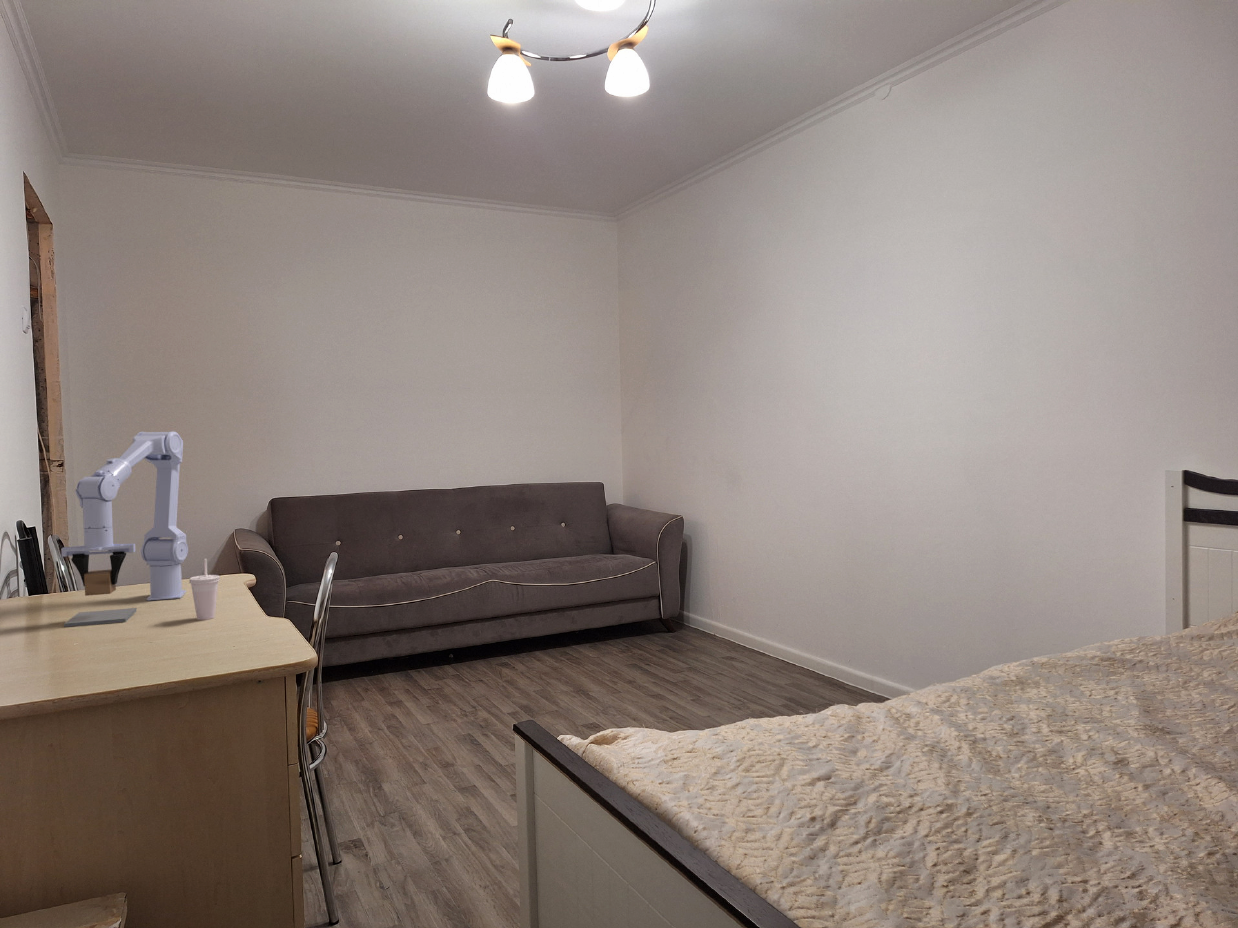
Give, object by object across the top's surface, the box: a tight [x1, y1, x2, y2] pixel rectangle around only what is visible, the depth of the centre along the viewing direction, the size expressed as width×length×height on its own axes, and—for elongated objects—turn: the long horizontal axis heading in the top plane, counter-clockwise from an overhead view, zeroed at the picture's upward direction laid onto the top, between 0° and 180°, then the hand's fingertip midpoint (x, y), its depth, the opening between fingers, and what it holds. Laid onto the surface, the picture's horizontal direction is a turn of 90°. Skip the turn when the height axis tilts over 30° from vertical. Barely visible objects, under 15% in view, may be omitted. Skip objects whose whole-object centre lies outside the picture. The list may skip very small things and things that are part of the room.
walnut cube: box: [84, 568, 117, 596], centre depth 187 cm, size 5×5×5 cm
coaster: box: [63, 607, 137, 628], centre depth 188 cm, size 12×12×1 cm
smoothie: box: [188, 558, 220, 621], centre depth 187 cm, size 6×6×14 cm
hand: (100, 584), depth 187 cm, fingers closed on walnut cube, 5 cm apart
